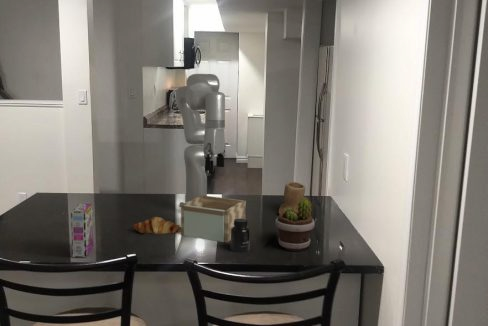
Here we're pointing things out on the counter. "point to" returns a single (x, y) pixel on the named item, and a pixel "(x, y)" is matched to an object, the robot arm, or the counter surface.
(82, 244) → the candy bar box
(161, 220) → the croissant
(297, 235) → the flowerpot
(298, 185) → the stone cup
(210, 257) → the counter surface
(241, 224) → the supplement bottle
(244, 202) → the crate
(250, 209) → the counter surface
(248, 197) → the counter surface
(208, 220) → the panel
